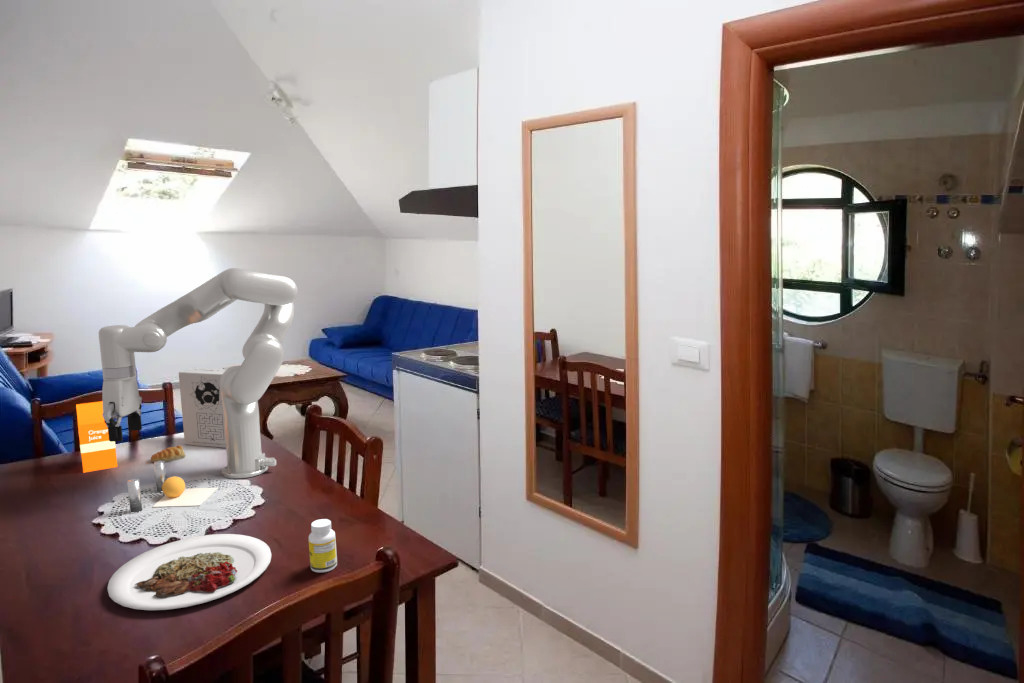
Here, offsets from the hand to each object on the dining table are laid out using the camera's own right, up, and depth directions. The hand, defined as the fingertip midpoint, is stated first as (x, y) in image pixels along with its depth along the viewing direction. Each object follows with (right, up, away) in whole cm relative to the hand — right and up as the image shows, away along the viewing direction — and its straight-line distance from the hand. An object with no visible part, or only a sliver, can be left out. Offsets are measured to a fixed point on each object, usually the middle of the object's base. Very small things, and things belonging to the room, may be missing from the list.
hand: (126, 435), depth 172 cm
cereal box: (+4, -10, +45) cm, 47 cm away
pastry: (-4, -12, +30) cm, 33 cm away
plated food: (+38, -23, -40) cm, 59 cm away
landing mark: (+16, -17, 0) cm, 23 cm away
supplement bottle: (+64, -22, -37) cm, 77 cm away
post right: (+7, -16, +5) cm, 18 cm away
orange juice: (-22, -13, +24) cm, 35 cm away
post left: (+8, -18, -9) cm, 21 cm away
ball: (+13, -14, 0) cm, 19 cm away
